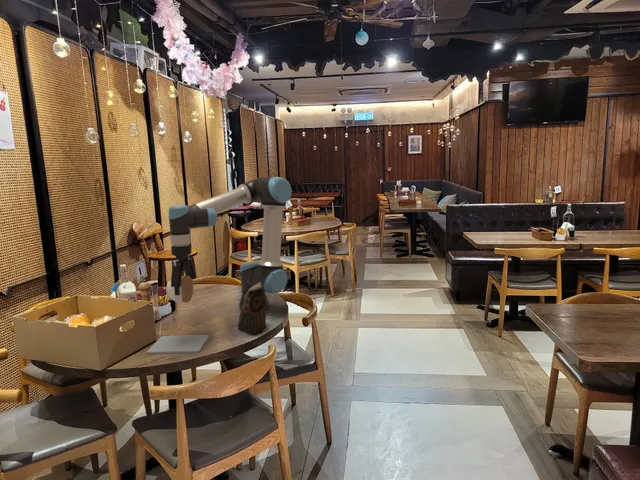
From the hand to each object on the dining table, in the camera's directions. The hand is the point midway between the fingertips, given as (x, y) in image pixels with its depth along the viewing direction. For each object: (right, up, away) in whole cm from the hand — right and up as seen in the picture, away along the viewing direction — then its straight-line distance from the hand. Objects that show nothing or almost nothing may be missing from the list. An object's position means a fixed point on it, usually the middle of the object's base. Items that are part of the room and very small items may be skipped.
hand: (184, 298), depth 177 cm
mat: (-2, -18, -2) cm, 18 cm away
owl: (+26, -15, +13) cm, 32 cm away
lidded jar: (-6, +4, 0) cm, 7 cm away
